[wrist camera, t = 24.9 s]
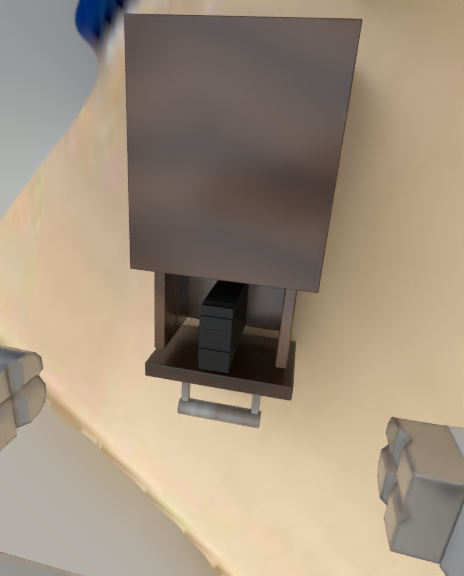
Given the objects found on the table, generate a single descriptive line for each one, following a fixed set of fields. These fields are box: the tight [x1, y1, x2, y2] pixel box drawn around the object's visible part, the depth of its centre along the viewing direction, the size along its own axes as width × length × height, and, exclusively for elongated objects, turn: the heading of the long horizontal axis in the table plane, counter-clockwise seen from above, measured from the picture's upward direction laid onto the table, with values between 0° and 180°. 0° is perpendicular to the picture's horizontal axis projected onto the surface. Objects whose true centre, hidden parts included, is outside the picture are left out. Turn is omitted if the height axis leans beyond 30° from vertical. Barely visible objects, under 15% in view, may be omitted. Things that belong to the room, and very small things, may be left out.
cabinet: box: [124, 14, 362, 293], centre depth 26 cm, size 15×13×9 cm
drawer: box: [145, 272, 297, 428], centre depth 30 cm, size 18×11×7 cm, turn 176°
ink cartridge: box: [198, 280, 249, 373], centre depth 29 cm, size 5×2×8 cm, turn 176°
